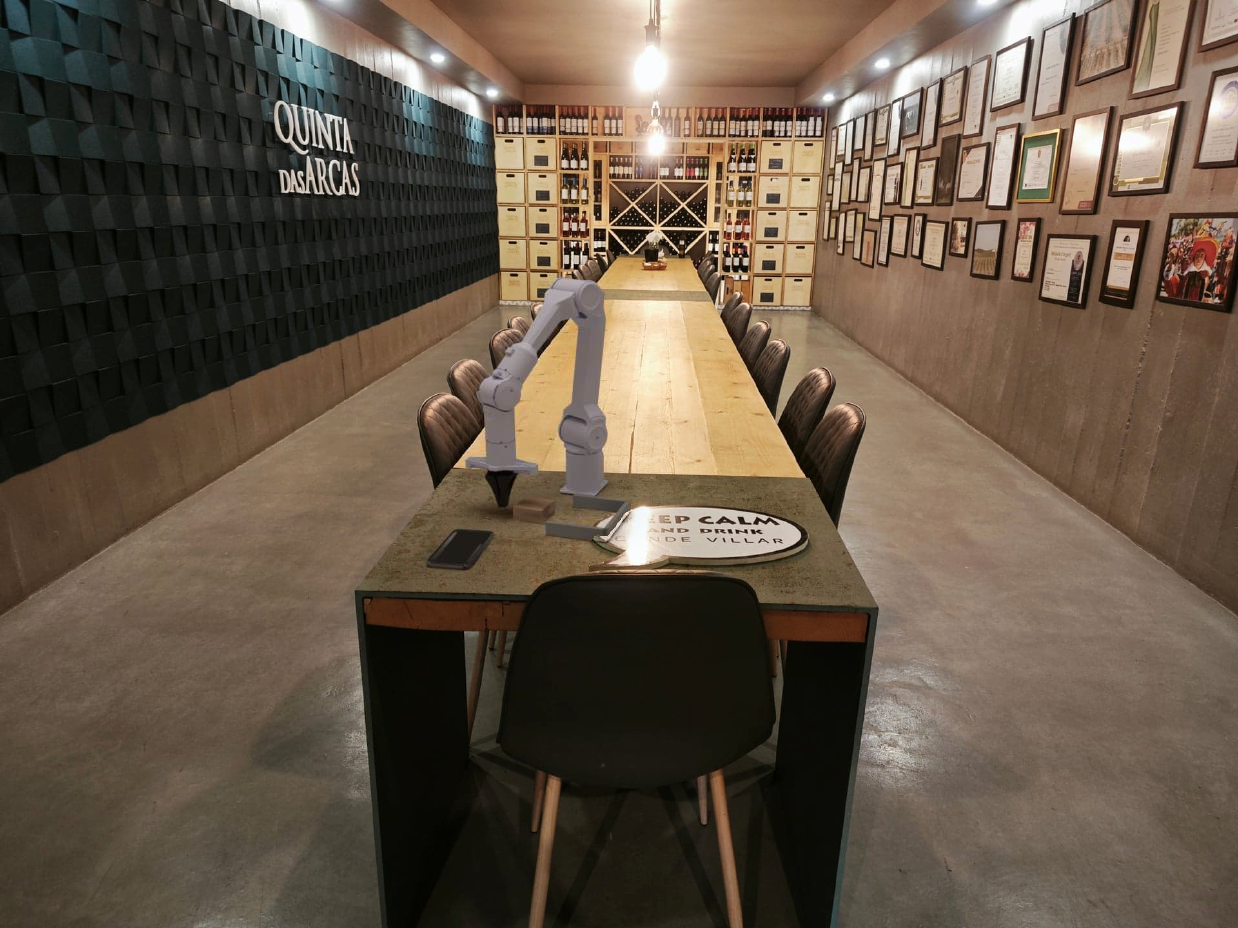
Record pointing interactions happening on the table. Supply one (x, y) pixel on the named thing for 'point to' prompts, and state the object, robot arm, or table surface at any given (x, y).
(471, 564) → the phone
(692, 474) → the table surface
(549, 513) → the walnut tile
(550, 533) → the grey u-shaped rail
